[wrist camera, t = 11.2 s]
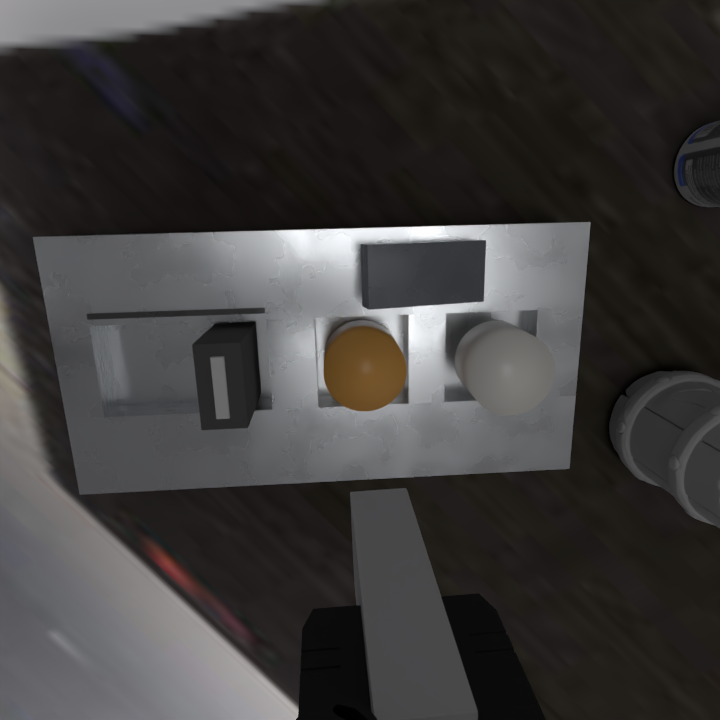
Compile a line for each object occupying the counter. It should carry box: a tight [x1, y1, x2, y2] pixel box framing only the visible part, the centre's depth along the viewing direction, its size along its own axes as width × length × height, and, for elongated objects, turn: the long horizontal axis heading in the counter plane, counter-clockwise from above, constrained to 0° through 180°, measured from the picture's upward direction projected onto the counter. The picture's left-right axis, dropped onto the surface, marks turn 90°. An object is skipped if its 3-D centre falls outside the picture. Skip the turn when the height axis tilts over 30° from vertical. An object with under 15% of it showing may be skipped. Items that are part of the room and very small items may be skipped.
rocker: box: [361, 240, 486, 310], centre depth 25 cm, size 6×3×1 cm, turn 91°
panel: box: [33, 222, 591, 495], centre depth 30 cm, size 28×14×5 cm, turn 91°
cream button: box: [455, 321, 555, 416], centre depth 27 cm, size 4×4×3 cm
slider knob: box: [192, 322, 261, 430], centre depth 27 cm, size 2×4×5 cm, turn 1°
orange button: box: [324, 320, 407, 411], centre depth 28 cm, size 4×4×3 cm
